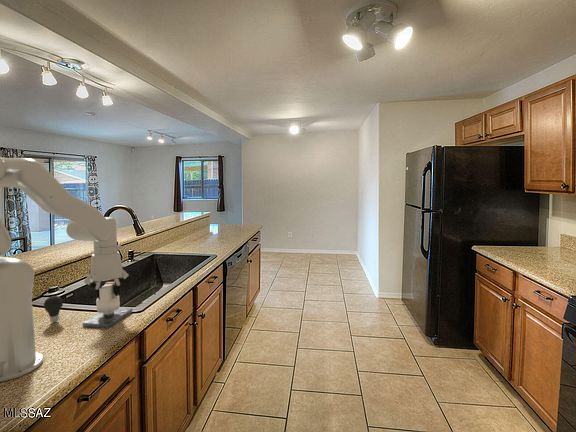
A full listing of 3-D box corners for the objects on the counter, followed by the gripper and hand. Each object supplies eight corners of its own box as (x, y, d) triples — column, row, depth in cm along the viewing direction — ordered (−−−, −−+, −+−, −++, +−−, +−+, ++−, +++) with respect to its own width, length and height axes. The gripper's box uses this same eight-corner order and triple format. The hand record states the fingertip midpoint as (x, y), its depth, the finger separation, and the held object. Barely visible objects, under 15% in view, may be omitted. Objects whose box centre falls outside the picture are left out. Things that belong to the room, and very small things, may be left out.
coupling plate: (108, 328, 108) (108, 317, 108) (82, 326, 109) (82, 316, 109) (132, 312, 122) (131, 302, 122) (109, 310, 123) (108, 301, 123)
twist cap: (115, 311, 112) (114, 287, 111) (93, 313, 111) (91, 288, 110) (122, 303, 120) (121, 281, 119) (101, 304, 118) (100, 282, 117)
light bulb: (67, 319, 115) (66, 294, 114) (55, 326, 109) (53, 299, 108) (54, 318, 115) (52, 293, 114) (40, 325, 110) (39, 298, 109)
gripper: (128, 245, 121) (130, 289, 123) (77, 251, 110) (80, 298, 112) (132, 249, 115) (134, 294, 117) (79, 255, 105) (82, 305, 107)
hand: (108, 296), depth 115 cm, fingers closed on twist cap, 4 cm apart
